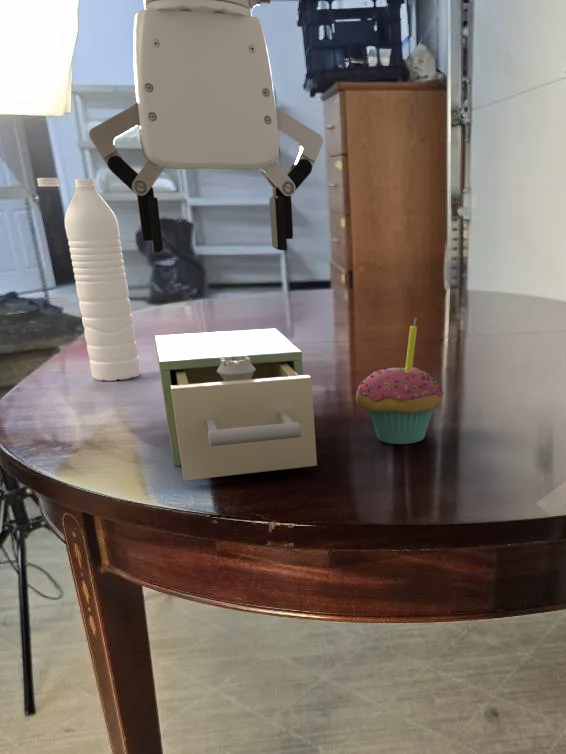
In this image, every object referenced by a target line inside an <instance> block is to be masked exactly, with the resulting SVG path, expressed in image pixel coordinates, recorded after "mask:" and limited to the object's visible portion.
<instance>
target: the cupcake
mask: <svg viewBox="0 0 566 754" xmlns="http://www.w3.org/2000/svg"><path fill="white" fill-rule="evenodd" d="M417 319H418V318H417V317H414V320H413V325H410V326H409V335H408V340H407V341H408V342H407V350H406V351H407V352H406V358H405V359H406V360H405V367H401V366H397V367H394V366H390V368H387V367H384V369H383V368H381V369H379V368H378V369H376V370H375V371H373V372H371V374H370V375H369V376H366V377H364V378H363V379H364V380H361V381H360V384H359V386H358V387H357V391H356V393H355V401H356V403H357V405H358V406H359V407H361V408H362V409H365V410H366V411H367V413H368V414H369V417H370V420H371V422H372V424H373V427H374V430H375V433H376V436H377V439H378V440H379V441H380V442H382V443H385V444H390V445H410V444H415V443H419V442H421V441H423V440H424V439H425V438H426V434H427V431H428V427H429V423H430V420H431V419H432V416H433V413H434V411H435V410H436V408H438V407H440V405H441V401H442V397H443V396H444V389H443V388H444V387H442V386H441V385H440V382H439V381H438V380H437V379H436V378H434V377H433V375H432V374H431V373H427V372H426V371H425V370H424V371H423V370H421V369H419V367H413V366H414V365H413V364H414V355H415V348H416V347H415V346H416V341H417V332H418V331H417V330H418V327H417V326H416V325H417Z"/></svg>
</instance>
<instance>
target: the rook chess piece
mask: <svg viewBox="0 0 566 754" xmlns="http://www.w3.org/2000/svg"><path fill="white" fill-rule="evenodd" d="M225 358H226V360H225ZM225 358H221V359H220V363H221V365H220V367H219V368H218V370H217V372H218V373H219V374H220V376H221V377H222V378H223V381H236V380H249V379H251V376H252V375H253V373H254V371H255V370H256V369H255V368H254V367H253V365H252V364H251V362H250V358H249V357H247V356H245V357H244V360H242V356H236V361H232V357H231V356H229V357H225Z"/></svg>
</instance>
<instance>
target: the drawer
mask: <svg viewBox="0 0 566 754" xmlns="http://www.w3.org/2000/svg"><path fill="white" fill-rule="evenodd" d="M252 365H253V367H254V368H255V369H256V370H255V371H254V373H253V375H252V376H251V379H249V380H236V381H223V378H222V377H221V376H220V374H219V373H218V372H217V370H218V368H219V367H220V366H217V367H204V368H190V369H177V370H174V374H175V381H176V385H173V386H171V393H172V400H173V407H174V415H175V422H176V429H177V436H178V444H179V451H180V458H181V465H182V466H181V472H182V477H183V481H193V480H202V479H210V478H211V479H213V478H220V477H229V476H237V475H247V474H255V473H264V472H273V471H281V470H290V469H301V468H309V467H316V466H318V460H317V445H316V442H317V441H316V429H315V410H314V397H313V396H314V393H313V381H312V380H313V379H312V377H311V375H310V374H303V375H299V376H298V375H297V374H296V372H295V371H294V370H293V369H292V368H291V367H290V366H289V365H288V364H287V363H286V362H271V363H258V364H252Z"/></svg>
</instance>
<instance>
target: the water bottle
mask: <svg viewBox="0 0 566 754" xmlns="http://www.w3.org/2000/svg"><path fill="white" fill-rule="evenodd" d="M36 181H37V187H60V181H59V178H58V177H37V178H36ZM74 184H75V185H74V186H73V188H75V192H74V194H73V197H71V198H72V199H71V200H70V203H69V205H68V207H67V210H66V211H65V215H64V229H65V233H66V239H67V240H68V242H67V243H68V246H69V253H70V260H71V265H72V272H73V274H74V275H73V277H74V280H75V288H76V295H77V298H78V300H79V302H78V305H79V311H80V314H81V316H82V317H81V323H82V327H83V328H84V332H83V333H84V339H85V342H86V344H87V345H86V350H87V355H88V358H89V367H90V374H91V377H92V379H95V380H97V381H106V382H114V381H117V380H118V381H125V380H130V379H133V378H138V377H139V376H140V375H141V374H142V367H141V362H140V357H139V355H138V354H139V349H138V344H137V341H136V330H135V327H134V316H133V314H132V303H131V300H130V297H129V296H130V291H129V285H128V281H127V279H126V278H127V273H126V272H125V271H126V267H125V261H124V255H123V247H122V246H121V245H122V241H121V239H120V238H121V234H120V233H121V232H120V226H119V221H118V218H117V216H116V214H115V213H114V211H113V210H112V208H111V207H110V205H108V203H107V202H106V201H105V200H104V199H103V197H102V196H101V194H99V192H98V191H97V187H98V185H95V184H96V183H95V179H94V178H74Z"/></svg>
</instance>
